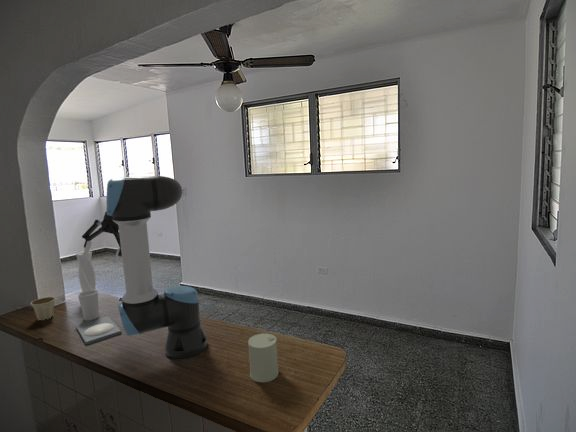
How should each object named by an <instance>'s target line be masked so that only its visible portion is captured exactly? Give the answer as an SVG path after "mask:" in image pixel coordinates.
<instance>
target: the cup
mask: <svg viewBox="0 0 576 432" xmlns="http://www.w3.org/2000/svg"><path fill="white" fill-rule="evenodd" d="M98 291H99V290H98V289H95V290H88V291H84V292H82V291H81V292H79V293H78V294H77V296H78V300H79V305H80V308H81V312H82V318H83V320H84V321H94V320H97V318H98V319H99V317H100V312H99V311H100V310H99V292H98Z"/></svg>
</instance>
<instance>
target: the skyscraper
mask: <svg viewBox="0 0 576 432" xmlns="http://www.w3.org/2000/svg"><path fill="white" fill-rule="evenodd" d="M93 249H94V248H93V247H92V246H91V247H90V250H91V251H89V254H88V256H83V253H84V250H85V248H83V250H82V251H80V252H78V253H76V254H75V255H76V256H75V257H76V259H77V262H78V279H79V284H80V288H81V292H84V291H88V290H96V283H97V281H96V273H95V269H94V266H93V264H92V256H93Z"/></svg>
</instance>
